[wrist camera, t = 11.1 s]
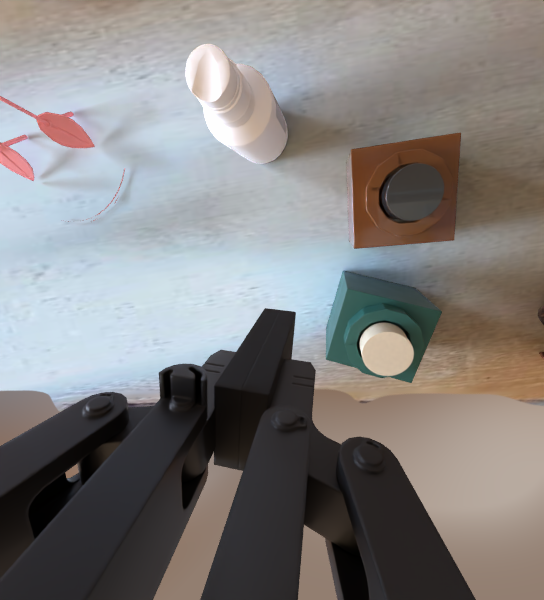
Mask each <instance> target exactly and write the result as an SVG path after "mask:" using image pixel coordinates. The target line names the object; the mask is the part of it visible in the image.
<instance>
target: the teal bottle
mask: <svg viewBox="0 0 544 600" xmlns="http://www.w3.org/2000/svg"><path fill="white" fill-rule="evenodd" d="M441 313H442V311H441V310H440V309H438V308H437V307H436V306H435V305H434V304H433V303H432V302H430V301H429V300H428V299H427V298H426V297H425V296H424V295H423V294H421V293H420V292H419V291H418V290H417V289H416V288H414V287H409V286H405V285H401V284H397V283H393V282H388V281H384V280H380V279H376V278H372V277H367V276H363V275H359V274H355V273H351V272H346V271H343V272H342V276H341V279H340V283H339V286H338V289H337V293H336V296H335V300H334V303H333V307H332V310H331V313H330V317H329V320H328V324H327V327H326V360H330V361H333V362H337V363H340V364H344V365H348V366H351V367H355V368H358V369H359V370H360V371H361V372H362V373H365V374H368V375H372V376H376V377H379V378H385V377H391V378H395V379H399V380H402V381H406V382H409V383H412V381H413V378H414V376H415V374H416V371H417V369H418V367H419V364H420V362H421V360H422V357H423V355H424V353H425V350H426V348H427V346H428V343H429V341H430V339H431V336H432V334H433V332H434V329H435V327H436V325H437V322H438V320H439V318H440V315H441ZM383 322H385V323H391V324H394V325H396V326H398V327H399V328H401V329H402V330H403V332H404V333H405V335H406V336H407V338H408V339H409V341H410V343H411V344H412V346H413V350H414V357H413V361H412V363H411V364H410V366H409V367H408V368H407V369H406V370H405V371H403V372H402V373H400V374H397V375H393V376H382V375H378V374H376V373H374V372H372V371H371V370H369V369H368V368H367V367H366V365H365V364H364V362H363V359H362V354H361V350H360V344H359V343H360V338H361V335H362V333H363V332H364V331H365V330H366V329H367V328H368V327H370V326H371V325H374V324H376V323H383Z"/></svg>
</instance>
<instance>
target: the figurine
mask: <svg viewBox="0 0 544 600" xmlns="http://www.w3.org/2000/svg"><path fill="white" fill-rule="evenodd" d="M0 100H1V101H3V102H5V103H7V104H9V105H11V106H13V107H15V108H16V109H18V110H20V111H22V112H24V113H26V114H28V115H30V116H32V117H33V118H35V119H36V120H37V123H38V125H39V128H40V130H41V131H43V132H44V133H45V134H46V135H47V136H48V137H50V138H51V139H52V140H53V141H55V142H57V143H59V144H61V145H63V146H67V147H71V148H90V147H95V146H94V144H93V142H92V141H91V139H90V138H89V136H88V135H87V134H86V132H85V131H84V130H83V128H82V127H81V126H80V125H78V124H77V123H76V122H75V121H74V120H72V119H70V118H69V117H71V116H73V115H74V114H73V113H72V112H68V113H65V114H62V115H60V114H54V113H49V112H45V113H42V114H40V115H38V116H36V115H34V114H33V113H31V112H29V111H27V110H25V109H23V108H22V107H20V106H18V105H16V104H14V103H12V102H11V101H9V100H7V99H5V98H3V97H1V96H0ZM27 138H28V137H27V136H26V135H22V136H20V137H17V138H14V139H12V140H9V141H6V142H4V143H0V163H1V164H2V165H4V166H5V167H7V168H8V169H10V170H11V171H13V172H15V173H17V174H19V175H21V176H23V177H25V178H27V179H30V180H32V181H34V173H33V172H32V171H33V169H32V167H31V166H30V164H29V163H28V162H27V160H26V159H24V158H23V157H22V156H21V155H20V154H19V153H17V152H16V151H14V150H13V149H11V148H10V147H8V146H10V145H12V144H15V143H17V142H20V141H22V140H25V139H27ZM124 172H125V169H124ZM123 176H124V173H123ZM29 177H30V178H29ZM122 181H123V178H122ZM122 181H121V183H122ZM120 186H121V184H120ZM120 186H119V188H120ZM118 191H119V189H118ZM117 193H118V192H117ZM117 193H116V194H117ZM115 196H116V195H115ZM114 198H115V197H114ZM114 198H113V199H114ZM117 199H118V198H117ZM112 201H113V200H112ZM112 201H111V202H112ZM116 201H117V200H116ZM111 202H110V203H111ZM115 203H116V202H115ZM108 206H109V205H108ZM108 206H107V207H108ZM107 207H106V208H107ZM106 208H105V209H106ZM105 209H104V210H105ZM101 212H102V211H101ZM101 212H100V213H101ZM100 213H99V214H100ZM97 219H98V218H97ZM86 220H87V219H86ZM95 220H96V219H95ZM61 221H62V220H61ZM82 221H83V220H82ZM93 221H94V220H93ZM68 222H69V221H68ZM74 222H75V221H74ZM91 222H92V221H91Z"/></svg>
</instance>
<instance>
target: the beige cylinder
mask: <svg viewBox="0 0 544 600" xmlns="http://www.w3.org/2000/svg"><path fill="white" fill-rule="evenodd" d="M359 344H360V350H361V354H362V359H363V362H364V364H365V365H366V367H367V368H368V369H369V370H371V371H372V372H374V373H376V374H378V375H382V376H393V375H397V374H400V373H402V372H403V371H405V370H406V369H407V368H408V367H409V366H410V364H411V363H412V361H413V357H414V350H413V346H412V344H411V343H410V341H409V339H408V338H407V336H406V335H405V333H404V332H403V330H402V329H401V328H399V327H398V326H396V325H394V324H391V323H385V322H383V323H376V324H374V325H371V326H370V327H368V328H367V329H366V330H365V331H364V332H363V333H362V335H361V338H360V343H359Z"/></svg>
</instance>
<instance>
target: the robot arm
mask: <svg viewBox="0 0 544 600" xmlns="http://www.w3.org/2000/svg"><path fill="white" fill-rule="evenodd" d="M295 315H296V312H291V311H283V310H275V309H266V308H265V309H264V311H263V312H262V314H261V315H260V317H259V318H258V320H257V321H256V323H255V324H254V326H253V327H252V329H251V330H250V332H249V333H248V335H247V336H246V338H245V340H244V341H243V343H242V344H241V346H240V347H239V349H238V350H237V352H231V351H225V350H220V351H218V352H216V353H214V354H213V355H211V356H210V357H209V358H208V360H207V361H206V362H205V364H203V366H202V367H201V366H197V365H194V364H178V365H173V366H170V367H168V368H165V369H164V370H162V371H161V372H159V383H160V400H159V401H158V402H157V403H156V404H155V406H147V407H128V403H127V399H126V397H125V396H123V395H122V394H120V393H115V392H105V393H100V394H96V395H92V396H90V397H88V398H85V399H83V400H81V401H79V402H78V403H76V404H74V405H72V406H71V407H69V408H67V409H65V410H63V411H62V412H60V413H58V414H56V415H55V416H53V417H51V418H49V419H48V420H46V421H44V422H42V423H41V424H39V425H37V426H35V427H33V428H32V429H30V430H28V431H26V432H25V433H23V434H21V435H19V436H18V437H16V438H14V439H12V440H10V441H9V442H7V443H5V444H3V445H1V446H0V600H153V598H154V596H155V594H156V591H157V589H158V587H159V585H160V583H161V580H162V578H163V576H164V574H165V571H166V569H167V567H168V565H169V563H170V560H171V558H172V556H173V554H174V552H175V549H176V547H177V545H178V543H179V541H180V538H181V536H182V534H183V532H184V529H185V527H186V525H187V523H188V521H189V518H190V516H191V514H192V512H193V509H194V507H195V505H196V503H197V500H198V498H199V496H200V494H201V491H202V489H203V487H204V485H205V482H206V479H207V476H208V462H209V460H210V458H211V456H212V454H213V452H214V465H219V466H223V467H228V468H232V469H237V470H242V471H243V473H242V476H241V479H240V482H239V485H238V488H237V491H236V494H235V497H234V500H233V503H232V506H231V509H230V512H229V516H228V518H227V521H226V524H225V527H224V531H223V533H222V536H221V540H220V542H219V545H218V548H217V551H216V554H215V557H214V561H213V563H212V566H211V569H210V572H209V575H208V578H207V582H206V585H205V588H204V590H203V594H202V596H201V600H298V589H299V577H300V564H301V551H302V540H303V527H304V525H306V526H307V527H309V528H310V529H312V530H314V531H315V532H317V533H318V534H320V535H322V536H323V537H325V539H326V546H327V551H328V555H329V560H330V565H331V570H332V575H333V580H334V585H335V589H336V595H337V599H338V600H476V599H475V597H474V596H473V594H472V592H471V590H470V588H469V587H468V585H467V583H466V581H465V580H464V578H463V576H462V574H461V572H460V570H459V569H458V567H457V565H456V563H455V562H454V560H453V558H452V556H451V554H450V553H449V551H448V549H447V547H446V545H445V544H444V542H443V540H442V538H441V537H440V535H439V533H438V531H437V529H436V527H435V526H434V524H433V522H432V520H431V518H430V517H429V515H428V513H427V511H426V510H425V508H424V506H423V504H422V502H421V501H420V499H419V497H418V495H417V493H416V492H415V490H414V488H413V486H412V485H411V483H410V481H409V479H408V478H407V475H406V474H405V472H404V470H403V468H402V466H401V465H400V463H399V461H398V459H397V458H396V457H395V456H394V454H393V453H392V452H391V450H389V449H388V448H387V447H385V446H384V445H383V444H381V443H379V442H377V441H375V440H372V439H370V438H364V437H354V438H349V439H347V440H346V441H345V442H343V443H342V444H339V443H337V442H335V441H333V440H331V439H329V438H327V437H326V436H324V435H323V434H322V433H320V432H319V431H318V429H317V428H316V427H315V425H314V423H313V421H312V407H313V396H314V383H315V371H316V370H315V369H314V367H313V366H312V364H311V362H304V361H298V360H291V357H292V347H293V336H294V326H295ZM76 464H77V465H78V470H79V473H78V474H76V475H74V476H73V477H71V478H66V474H65V472H66V471H67V470H69V469H70V468H72V467H73V466H74V465H76Z"/></svg>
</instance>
